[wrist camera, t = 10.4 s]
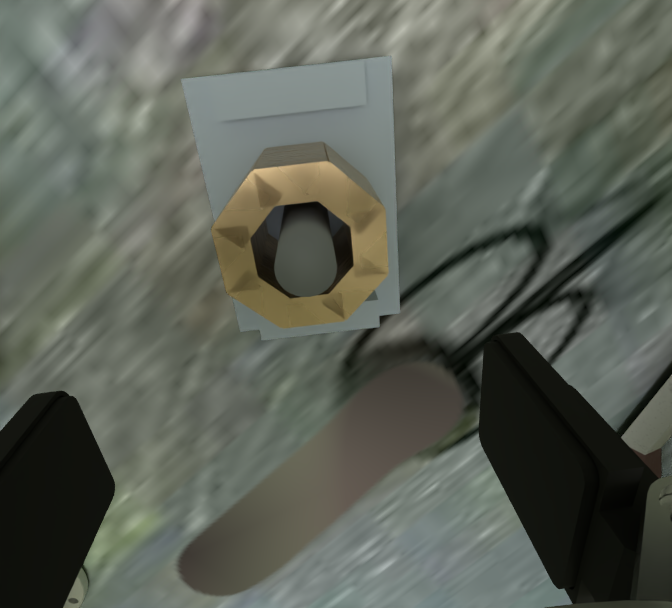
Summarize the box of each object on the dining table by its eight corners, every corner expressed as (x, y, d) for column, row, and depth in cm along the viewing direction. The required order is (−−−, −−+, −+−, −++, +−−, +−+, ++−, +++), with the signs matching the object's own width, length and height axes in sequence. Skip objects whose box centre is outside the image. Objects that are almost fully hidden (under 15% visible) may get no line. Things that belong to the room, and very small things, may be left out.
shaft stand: (395, 302, 28) (433, 396, 20) (243, 319, 28) (216, 422, 20) (386, 57, 22) (436, 43, 13) (188, 79, 22) (114, 78, 13)
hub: (372, 266, 25) (390, 315, 20) (250, 280, 25) (236, 334, 20) (364, 136, 22) (382, 154, 17) (223, 152, 22) (197, 175, 17)
